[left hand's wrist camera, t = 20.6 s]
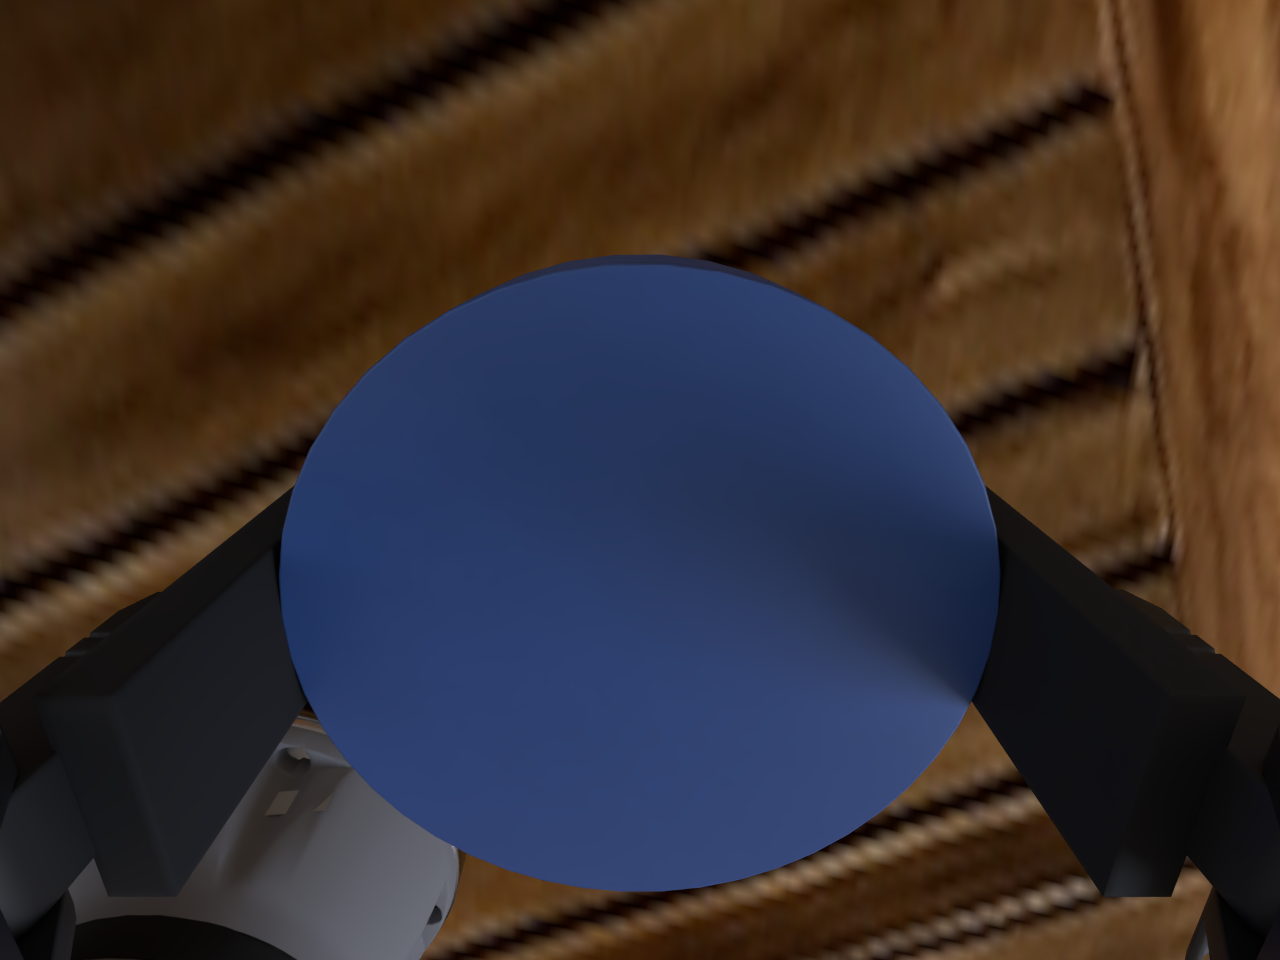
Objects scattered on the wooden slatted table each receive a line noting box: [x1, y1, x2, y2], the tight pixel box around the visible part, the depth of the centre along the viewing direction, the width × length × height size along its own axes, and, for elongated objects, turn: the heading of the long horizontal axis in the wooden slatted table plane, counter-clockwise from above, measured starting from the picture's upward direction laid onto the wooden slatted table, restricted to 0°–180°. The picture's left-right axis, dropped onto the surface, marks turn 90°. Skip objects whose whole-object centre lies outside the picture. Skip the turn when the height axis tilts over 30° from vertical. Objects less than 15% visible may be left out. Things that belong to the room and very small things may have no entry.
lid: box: [279, 255, 1001, 891], centre depth 11 cm, size 10×10×2 cm
